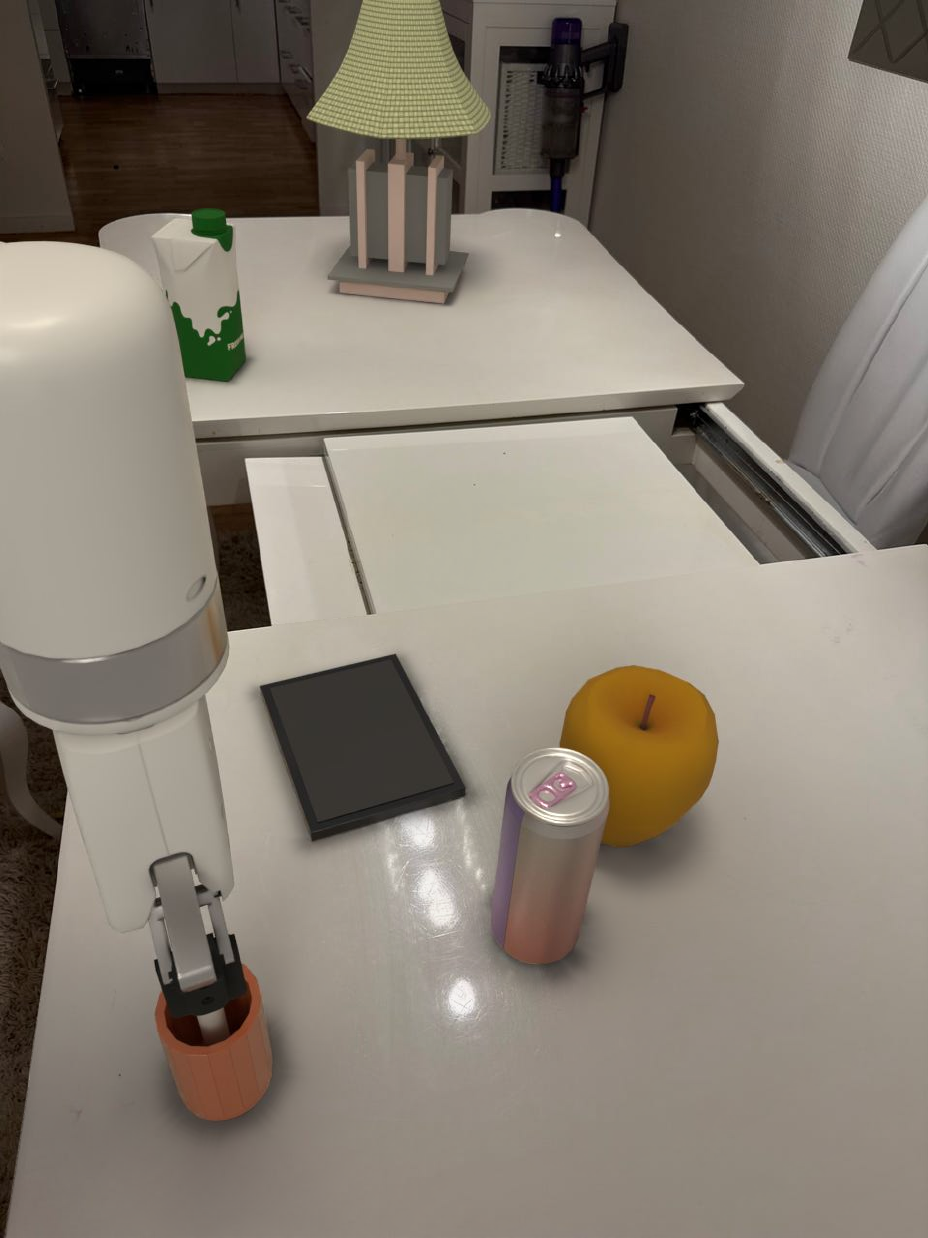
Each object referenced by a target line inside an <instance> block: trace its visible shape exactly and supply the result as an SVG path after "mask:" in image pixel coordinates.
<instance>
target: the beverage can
mask: <svg viewBox="0 0 928 1238" xmlns="http://www.w3.org/2000/svg"><path fill="white" fill-rule="evenodd" d="M609 805H610V802H609V786H608V781H607V778H606V776H605V774H604V773H603V771H602V770H601V768H600V767H599V766H598V765H597V764H596V763H595V762H594V761H593V760H591V759H590V758H589V757H587V756H585V755H583V754H581V753H579V752H577V751H574V750H571V749H566V748H560V746H559V747H558V746H557V747H556V746H555V747H551V746H550V747H543V748H539V749H535V750H533V751H531V752H529V753H527V754H525V755H524V756H523V757H522V758H520V759H519V760H518V761H517V763H516V764H515V766H514V768H513V770H512V772H511V776H510V778H509V779H508V781H507V784H506V788H505V796H504V805H503V815H502V821H501V828H500V829H501V830H500V837H499V846H498V854H497V860H496V870H495V878H494V886H493V895H492V903H491V910H490V911H491V912H490V928H491V932H492V935H493V937H494V940H495V941H496V942H497V944H498V945H499V946H500V948H501V949H502V950H503V951H504V952H505V953H506V954H507V955H509V956H510V957H512V958H513V959H516V960H517V961H520V962H523V963H525V964H526V963H527V964H531V965H545V964H546V965H547V964H551V963H554V962H557V961H559V960H562V959H563V958H565V957H566V956H567V955H569V953H570V952H571V951H572V950H574V948H575V946H576V944H577V943H578V940H579V938H580V937H579V936H580V932H581V928H582V924H583V920H584V917H585V916H584V915H585V911H586V908H587V907H586V906H587V903H588V899H589V895H590V891H591V886H592V881H593V878H594V874H595V869H596V865H597V861H598V857H599V853H600V850H601V849H600V848H601V845H602V843H601V841H602V836H603V832H604V828H605V824H606V820H607V815H608V811H609Z"/></svg>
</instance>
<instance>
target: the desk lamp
mask: <svg viewBox="0 0 928 1238" xmlns="http://www.w3.org/2000/svg"><path fill="white" fill-rule="evenodd" d="M349 43H350V44H349V46H348V49H347V52H346V53H345V55H344V58H343V60H342V62H341V65H340V66H339V69H338V70H337V72H336V73H335V75H334V77H333V78H332V80H331V81H330V83H329V85H328V86H327V88H326V89H325V90H324V92H323V93H322V95H321V96H320V97H319V99H318V101H317V102H316V103H315V105H314V106H313V108H312V109H311V110H310V111H309V113H308V114H307V115H306V117H305V118H306V119H307V120H308V121H310V122H313V123H316V124H318V125H321V126H324V127H328V128H331V129H335V130H337V131H342V132H346V133H349V134H354V135H358V136H363V137H368V138H376V139H381V140H382V139H383V140H395V154H394V155H393V157H392V158H391V159H390V161H389V162H388V163H386V162H376V150H375V149H374V148H366V149H365V150H364V152H363V153H361V154H360V156H359V157H358V158H357V159H356V160H355V161H354V162H353V163H352V164H351V165H350V166H349V168H347V180H348V181H347V182H348V185H347V186H348V216H349V217H348V218H349V245H348V247H347V249H345V251H344V252H343V254H342V255H341V257H340V258H339V259H338V261H337V262H336V263H335V265H334V266H333V267H332V269H331V270H330V271H329V273H328V274H327V275H326V276H327V280H328V281H338V282H339V294H349V295H358V296H368V297H376V298H377V297H378V298H387V299H397V300H405V301H406V300H407V301H414V302H415V301H417V302H425V303H427V302H428V303H435V304H445V302H446V300H447V297H448V295H449V293H454V291H455V288H456V287H457V285H458V282H459V280H460V277H461V275H462V272H463V270H464V267H465V265H466V263H467V261H468V258H469V254H470V253H469V252H465V251H464V252H463V251H454V250H451V231H452V207H453V204H452V203H453V180H454V179H453V178H454V177H453V176H454V168H453V169H452V168H445V167H444V165H445V156H444V155H439V154H436V155H435V157H434V158H433V160H432V161H431V163H430V164H429V165H428V166H420V165H414V159H415V157H414V156H415V155H414V152H407V140H423V139H425V140H426V139H444V138H445V139H447V138H455V137H456V138H457V137H466V136H467V137H468V136H475V135H477V134H479V133H481V131H482V130H483V129H485V127H486V126H487V125H488V123H489V121H490V119H491V117H492V116H491V110H490V109H489V107H488V106H487V104H486V103H485V102H484V101H483V99H482V98H481V97H480V95H479V94H478V92H477V91H476V89H475V88H474V87H473V84H471V82H470V80H469V78H468V77H467V76H466V74H465V72H464V71H463V69H462V67H461V65H460V63H459V60H458V58H457V56H456V54H455V51H454V49H453V46H452V42H451V39H450V36H449V33H448V30H447V25H446V22H445V18H444V14H443V10H442V6H441V3H440V0H362V2H361V6H360V10H359V13H358V17H357V20H356V25H355V29H354V31H353V34H352V38H351V40H350V42H349Z"/></svg>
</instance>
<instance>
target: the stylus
mask: <svg viewBox="0 0 928 1238" xmlns="http://www.w3.org/2000/svg"><path fill="white" fill-rule="evenodd" d="M197 1018H198V1022H199V1025H200V1029H201V1033H202V1036H203V1040H204V1043H205V1046H207V1047H208V1046H211V1045H214V1044H216V1043H219V1042H222V1041H225V1040H226V1039H228V1038H229V1037H230V1032H229V1028H228V1024H227V1020H226V1016H225V1011H224V1007H223V1008H221V1009H220V1010H217V1011H215V1012H212V1013H209V1014H206V1015H202V1016H197Z"/></svg>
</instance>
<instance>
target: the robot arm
mask: <svg viewBox="0 0 928 1238" xmlns="http://www.w3.org/2000/svg"><path fill="white" fill-rule="evenodd" d="M190 406H191V405H190V399H189V394H188V388H187V382H186V377H185V376H184V370H183V364H182V358H181V352H180V346H179V340H178V335H177V331H176V326H175V322H174V318H173V313H172V310H171V307H170V305H169V302H168V300H167V297H166V295H165V294H164V292H163V288H162V286H160V284H159V283H158V282H157V280H156V279H155V278H154V277H153V276H152V275H151V274H150V273H149V271H148V270H147V269H145V268H144V267H143V266H142V265H140V264H138V263H137V262H135V261H134V260H133V259H130V258H129V257H126V256H125V255H123V254H121V253H118V252H116V251H114V250H110V249H108V248H107V249H106V248H104V247H99V246H94V245H93V246H92V245H89V244H88V245H87V244H83V243H75V242H66V241H51V240H49V241H48V240H41V241H40V240H37V241H36V240H33V241H17V242H16V241H15V242H13V241H12V242H4V241H0V671H1V673H2V676H3V678H4V680H5V683H6V687H7V689H8V692H9V694H10V697H11V699H12V701H13V703H14V704H15V706H16V707H17V708H18V710H19V711H20V712H21V713H22V714H23V715H24V716H25V717H26V718H28V719H30V720H31V721H33V722H34V723H35V724H37V725H39V726H42V727H46V728H47V729H49V730H52V733H53V737H54V742H55V747H56V750H57V755H58V758H59V762H60V766H61V770H62V774H63V778H64V781H65V784H66V788H67V792H68V795H69V799H70V802H71V806H72V809H73V812H74V816H75V819H76V822H77V825H78V829H79V832H80V835H81V838H82V842H83V844H84V848H85V852H86V854H87V857H88V858H87V859H88V861H89V863H90V868H91V870H92V873H93V876H94V880H95V883H96V886H97V889H98V893H99V897H100V900H101V902H102V906H103V909H104V912H105V916H106V920H107V922H108V926H110V927H111V928H112V929H113V930H114V931H115V932H117V933H121V934H126V933H130V932H134V931H137V930H142V929H144V928H145V927H146V925H147V923H148V926H149V931H150V934H151V938H152V943H153V947H154V951H155V955H156V958H154V959H153V963H154V971H155V973H156V977H157V980H158V982H159V985H160V988H161V991H163V994H164V997H165V1000H166V1003H167V1006H168V1009H169V1012H170V1015H171V1017H172V1018H181V1017H184V1016H187V1015H190V1014H191V1015H193V1016H202V1015H206V1014H209V1013H212V1012H215V1011H217V1010H220V1009H221V1008H223V1007H225V1006H226V1005H227V1003H228V1002H229V1001H230V1000H233V999H236V998H238V997H241V996H243V995H244V994H245V993H246V992H247V986H246V982H245V977H244V973H243V968H242V964H243V963H242V959H241V955H240V951H239V947H238V942H237V939H236V935H235V933H231V934H230V933H229V931H228V926H227V923H226V919H225V914H224V909H223V906H222V902H225V901H226V900H227V899H229V896H230V895H231V893H232V892H233V889H234V887H235V877H234V868H233V867H234V866H233V859H232V851H231V844H230V834H229V827H228V822H227V821H228V820H227V814H226V808H225V807H226V806H225V800H224V793H223V787H222V781H221V780H222V779H221V774H220V767H219V761H218V756H217V751H216V745H215V740H214V735H213V728H212V722H211V718H210V712H209V711H210V710H209V706H208V702H207V697H206V694H207V693H208V692H209V691H211V689H212V688H213V687H214V686H215V684H217V682H218V681H219V679H220V677H221V676H222V674H223V672H225V669H226V666H227V664H228V660H229V657H230V638H229V633H228V626H227V620H226V614H225V608H224V603H223V597H222V590H221V585H220V579H219V572H218V569H217V565H216V560H215V559H216V558H215V553H214V547H213V539H212V534H211V528H210V521H209V516H208V515H209V514H208V510H207V509H208V508H207V502H206V495H205V490H204V483H203V478H202V477H203V476H202V471H201V465H200V459H199V454H198V447H197V442H196V437H195V429H194V424H193V418H192V412H191V411H192V410H191V407H190ZM192 870H194V874H195V875H196V876H197V879H198V882H199V884H197V885H196V884H195V881H194V877H193V873H192V872H193V871H192ZM156 887H157V889H158V894H159V897H157V891H156ZM221 899H222V902H221ZM202 907H207V909H208V914H209V917H210V918H209V919H210V922H211V926H212V930H213V932H210V933H207V932H206V929H205V924H204V920H203V916H202V911H201V908H202Z"/></svg>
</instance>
